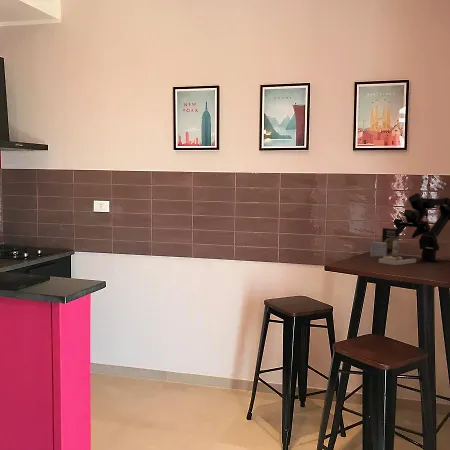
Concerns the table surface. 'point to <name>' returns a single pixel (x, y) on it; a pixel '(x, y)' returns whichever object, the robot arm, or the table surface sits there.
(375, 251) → the medicine box
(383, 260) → the shelf lane
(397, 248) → the handle block
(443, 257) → the table surface
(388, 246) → the coffee box
